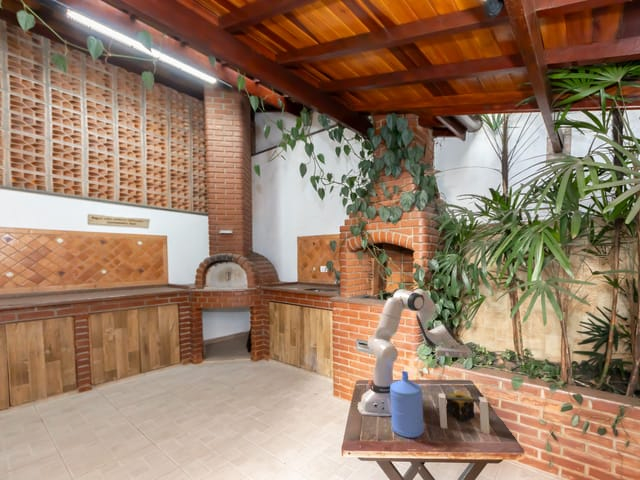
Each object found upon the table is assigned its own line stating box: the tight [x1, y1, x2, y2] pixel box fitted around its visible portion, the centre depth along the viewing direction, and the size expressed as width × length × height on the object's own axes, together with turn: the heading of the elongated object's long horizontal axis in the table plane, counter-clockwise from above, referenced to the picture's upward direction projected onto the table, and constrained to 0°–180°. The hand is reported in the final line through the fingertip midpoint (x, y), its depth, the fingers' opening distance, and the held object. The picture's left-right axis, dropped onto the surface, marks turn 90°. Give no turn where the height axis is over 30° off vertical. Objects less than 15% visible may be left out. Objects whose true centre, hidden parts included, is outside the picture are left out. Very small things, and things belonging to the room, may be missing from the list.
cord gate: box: [438, 392, 490, 435], centre depth 151 cm, size 22×5×15 cm, turn 73°
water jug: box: [390, 370, 425, 439], centre depth 152 cm, size 16×16×28 cm
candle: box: [445, 391, 475, 423], centre depth 163 cm, size 10×10×10 cm
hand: (455, 356), depth 173 cm, fingers open, 4 cm apart
